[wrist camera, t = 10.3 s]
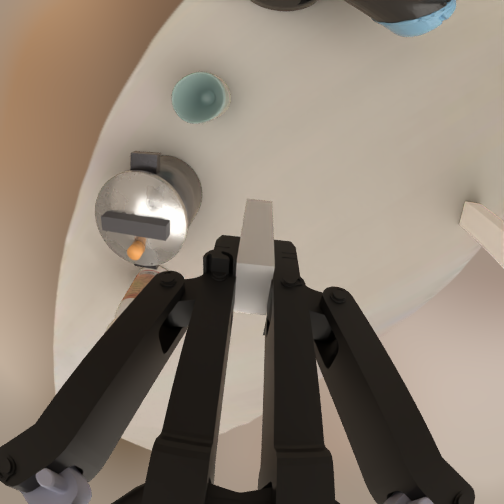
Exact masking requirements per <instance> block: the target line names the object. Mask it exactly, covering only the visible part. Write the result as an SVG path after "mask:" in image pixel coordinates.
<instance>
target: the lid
mask: <svg viewBox="0 0 504 504" xmlns="http://www.w3.org/2000/svg"><path fill="white" fill-rule="evenodd" d="M95 217H96V223H97V226H98V229H99V232H100V234H101V236H102V238H103V239H104V241H105V242H106V244H107V245H108V246H109V247H110V248H111V249H112V250H113V251H114V252H115V253H116V254H117V255H119V256H120V257H122V258H123V259H125V260H127V261H129V262H131V263H134V264H138V265H143V266H154V265H159V264H162V263H165V262H167V261H169V260H170V259H172V258H173V257H174V256H175V255H176V254H177V253H178V252H179V250H180V249H181V247H182V245H183V243H184V241H185V239H186V236H187V231H188V217H187V212H186V208H185V206H184V203H183V201H182V199H181V197H180V196H179V194H178V193H177V191H176V190H175V189H174V188H173V187H172V186H171V185H170V184H169V183H168V182H167V181H166V180H164V179H163V178H161V177H160V176H158V175H156V174H154V173H151V172H148V171H143V170H130V171H125V172H122V173H120V174H118V175H116V176H114V177H113V178H111V179H110V180H109V181H108V182H107V183H106V184H105V185H104V186H103V187H102V189H101V190H100V192H99V194H98V197H97V200H96V205H95Z"/></svg>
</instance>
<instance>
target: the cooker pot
mask: <svg viewBox="0 0 504 504" xmlns="http://www.w3.org/2000/svg"><path fill="white" fill-rule="evenodd" d="M131 170H143V171H148V172H151V173H154V174H156V175H158V176H160V177H161V178H163V179H164V180H166V181H167V182H168V183H169V184H170V185H171V186H172V187H173V188H174V189H175V190H176V191H177V193H178V194H179V196H180V197H181V199H182V201H183V203H184V206H185V208H186V212H187V217H188V228H189V226H190V224H191V223H192V221H193V219H194V217H195V216H196V214H197V212H198V210H199V208H200V205H201V202H202V187H201V183H200V181H199V178H198V176H197V175H196V173H195V172H194V170H193V169H192V168H191V167H190V166H189V165H188V164H187V163H185V162H184V161H182V160H180V159H178V158H175V157H172V156H161V153H154V152H140V151H134V152H132V153H131ZM134 265H135V266H140V267H145V268H150V269H155V270H157V268H158V266H159V265H154V266H143V265H138V264H134Z"/></svg>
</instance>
